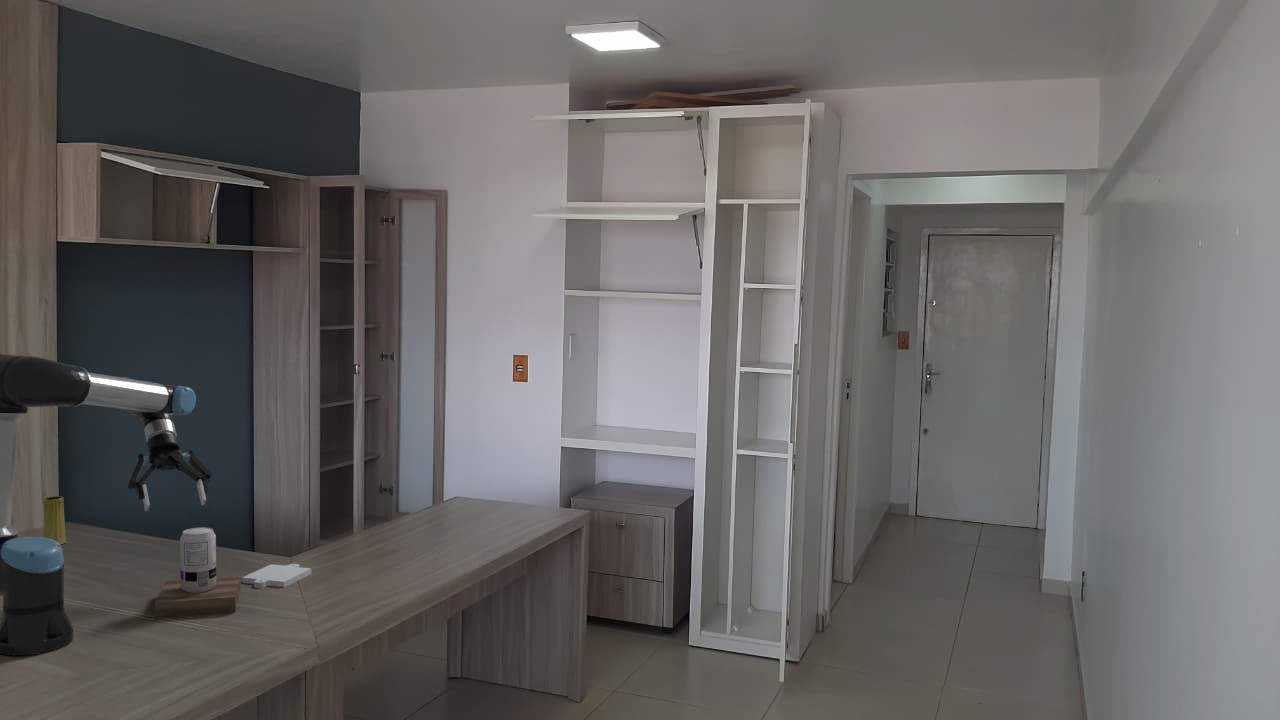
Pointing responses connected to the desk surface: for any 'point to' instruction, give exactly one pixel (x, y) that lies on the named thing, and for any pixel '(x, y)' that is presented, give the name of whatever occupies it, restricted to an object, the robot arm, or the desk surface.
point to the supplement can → (198, 560)
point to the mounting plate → (276, 575)
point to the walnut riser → (198, 599)
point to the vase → (54, 519)
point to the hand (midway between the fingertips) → (176, 505)
